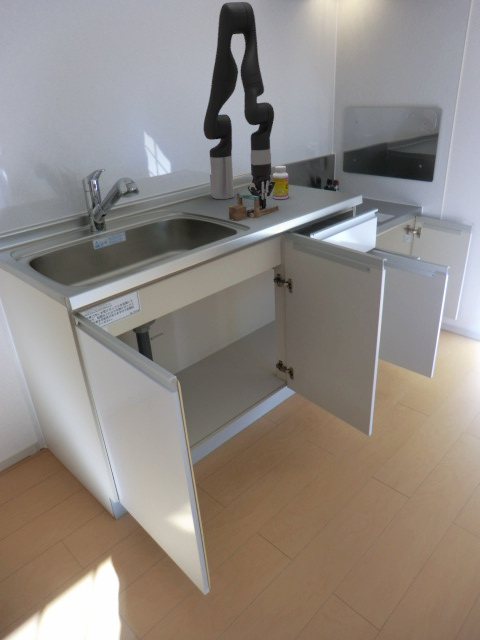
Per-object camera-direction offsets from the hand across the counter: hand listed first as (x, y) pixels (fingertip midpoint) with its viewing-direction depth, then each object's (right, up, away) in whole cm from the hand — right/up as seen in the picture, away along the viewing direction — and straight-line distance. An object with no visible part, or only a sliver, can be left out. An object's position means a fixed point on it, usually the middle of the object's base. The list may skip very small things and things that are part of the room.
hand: (262, 208), depth 186 cm
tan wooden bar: (-4, -3, -3) cm, 6 cm away
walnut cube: (-9, -5, -7) cm, 13 cm away
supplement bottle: (+9, +9, +19) cm, 22 cm away
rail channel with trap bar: (-2, -2, -1) cm, 3 cm away
